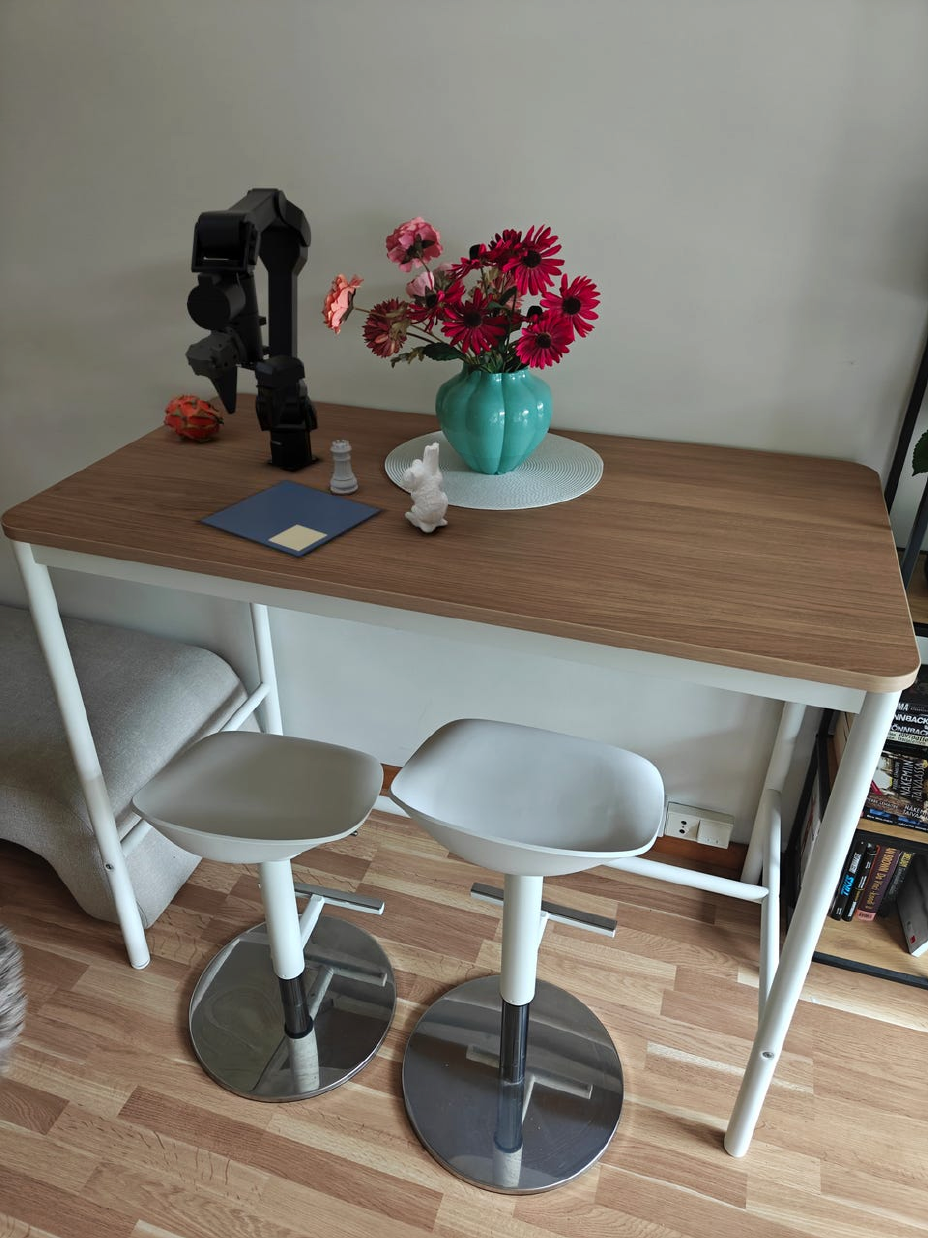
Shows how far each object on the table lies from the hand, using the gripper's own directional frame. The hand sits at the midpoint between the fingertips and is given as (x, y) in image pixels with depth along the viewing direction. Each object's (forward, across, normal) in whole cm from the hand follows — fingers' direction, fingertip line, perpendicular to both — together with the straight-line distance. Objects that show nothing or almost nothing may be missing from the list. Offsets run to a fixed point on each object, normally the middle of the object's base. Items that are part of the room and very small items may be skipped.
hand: (252, 419), depth 130 cm
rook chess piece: (+14, +7, +11) cm, 19 cm away
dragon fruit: (+14, -31, +13) cm, 37 cm away
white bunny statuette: (+14, +26, +9) cm, 30 cm away
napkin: (+14, +7, -1) cm, 15 cm away
